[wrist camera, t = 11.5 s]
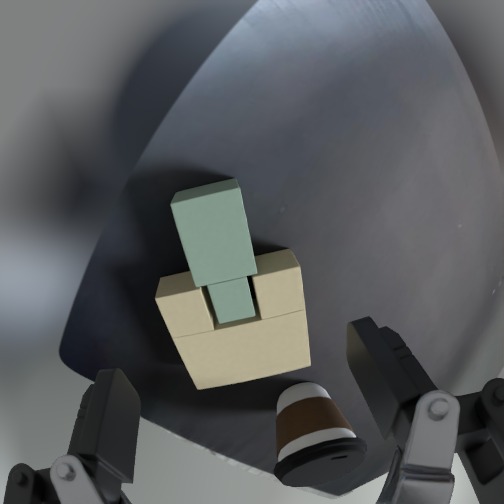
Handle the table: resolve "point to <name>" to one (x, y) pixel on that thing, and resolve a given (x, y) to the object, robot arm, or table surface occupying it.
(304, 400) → the coffee cup
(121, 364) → the table surface
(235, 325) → the notch pad
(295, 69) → the table surface
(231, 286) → the pad
